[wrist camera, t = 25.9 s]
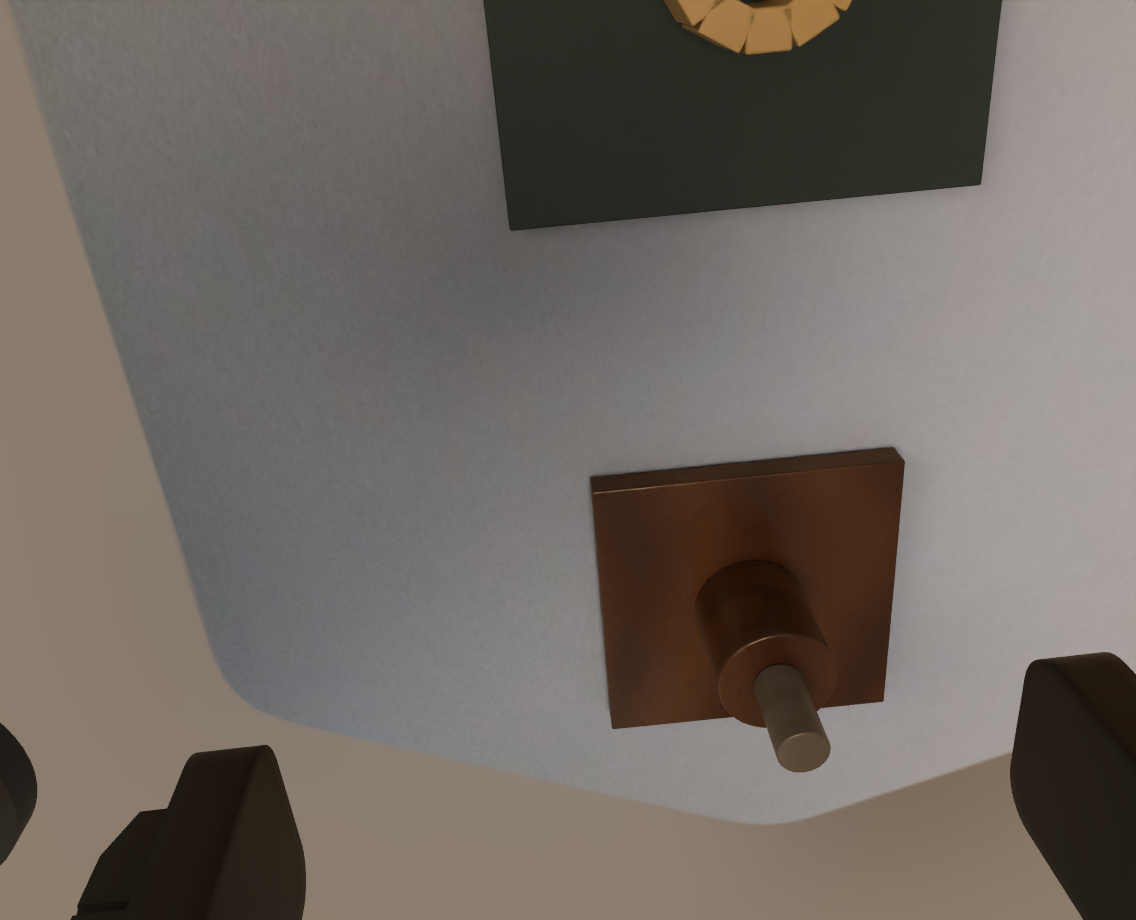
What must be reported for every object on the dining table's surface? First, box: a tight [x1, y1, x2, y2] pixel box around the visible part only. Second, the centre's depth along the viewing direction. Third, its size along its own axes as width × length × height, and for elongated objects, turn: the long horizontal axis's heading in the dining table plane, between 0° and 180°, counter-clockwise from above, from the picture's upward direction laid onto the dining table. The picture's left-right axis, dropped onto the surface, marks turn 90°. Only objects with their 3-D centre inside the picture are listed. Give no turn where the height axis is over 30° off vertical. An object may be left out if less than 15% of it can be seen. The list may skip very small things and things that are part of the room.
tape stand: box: [590, 448, 905, 772], centre depth 36 cm, size 12×12×10 cm
